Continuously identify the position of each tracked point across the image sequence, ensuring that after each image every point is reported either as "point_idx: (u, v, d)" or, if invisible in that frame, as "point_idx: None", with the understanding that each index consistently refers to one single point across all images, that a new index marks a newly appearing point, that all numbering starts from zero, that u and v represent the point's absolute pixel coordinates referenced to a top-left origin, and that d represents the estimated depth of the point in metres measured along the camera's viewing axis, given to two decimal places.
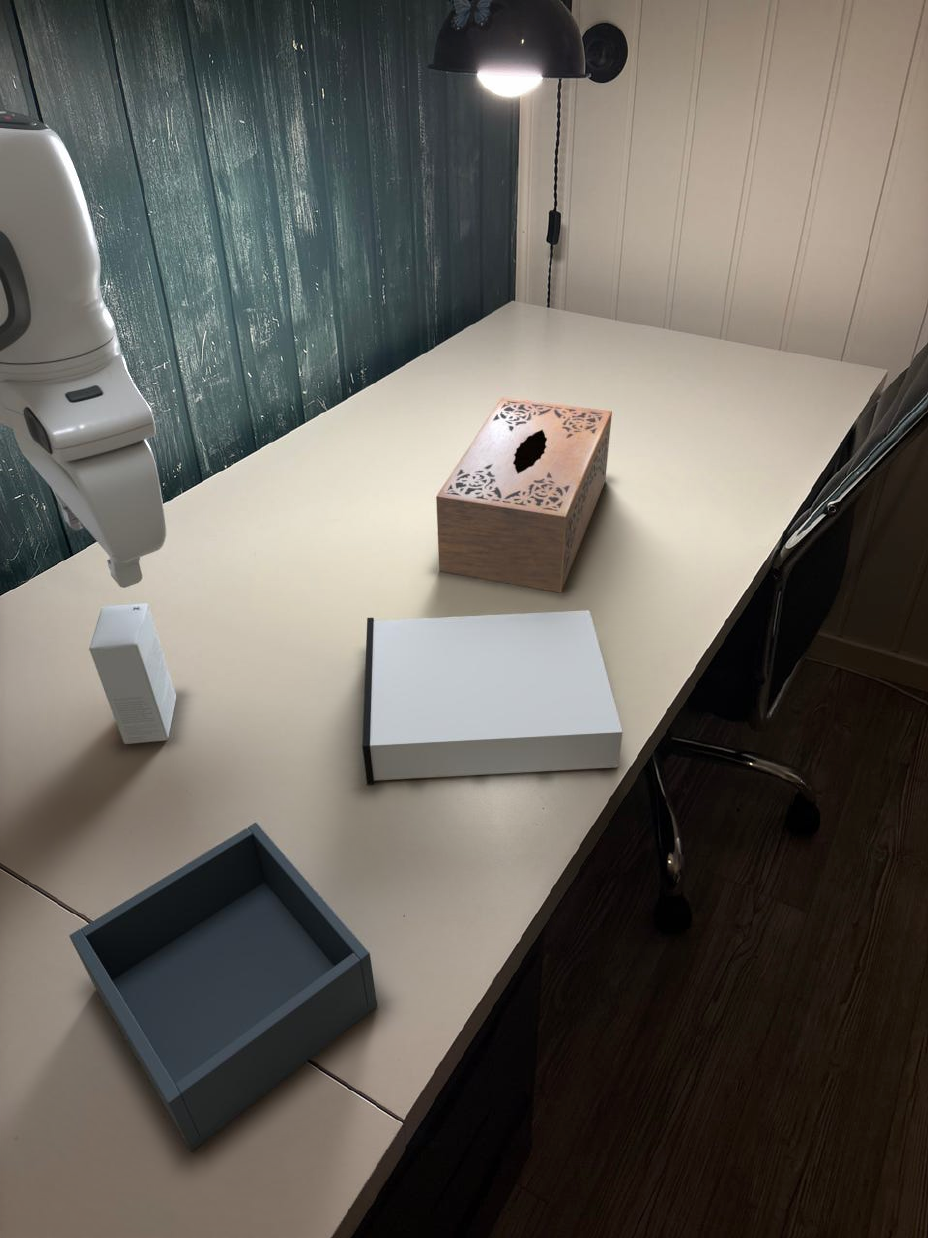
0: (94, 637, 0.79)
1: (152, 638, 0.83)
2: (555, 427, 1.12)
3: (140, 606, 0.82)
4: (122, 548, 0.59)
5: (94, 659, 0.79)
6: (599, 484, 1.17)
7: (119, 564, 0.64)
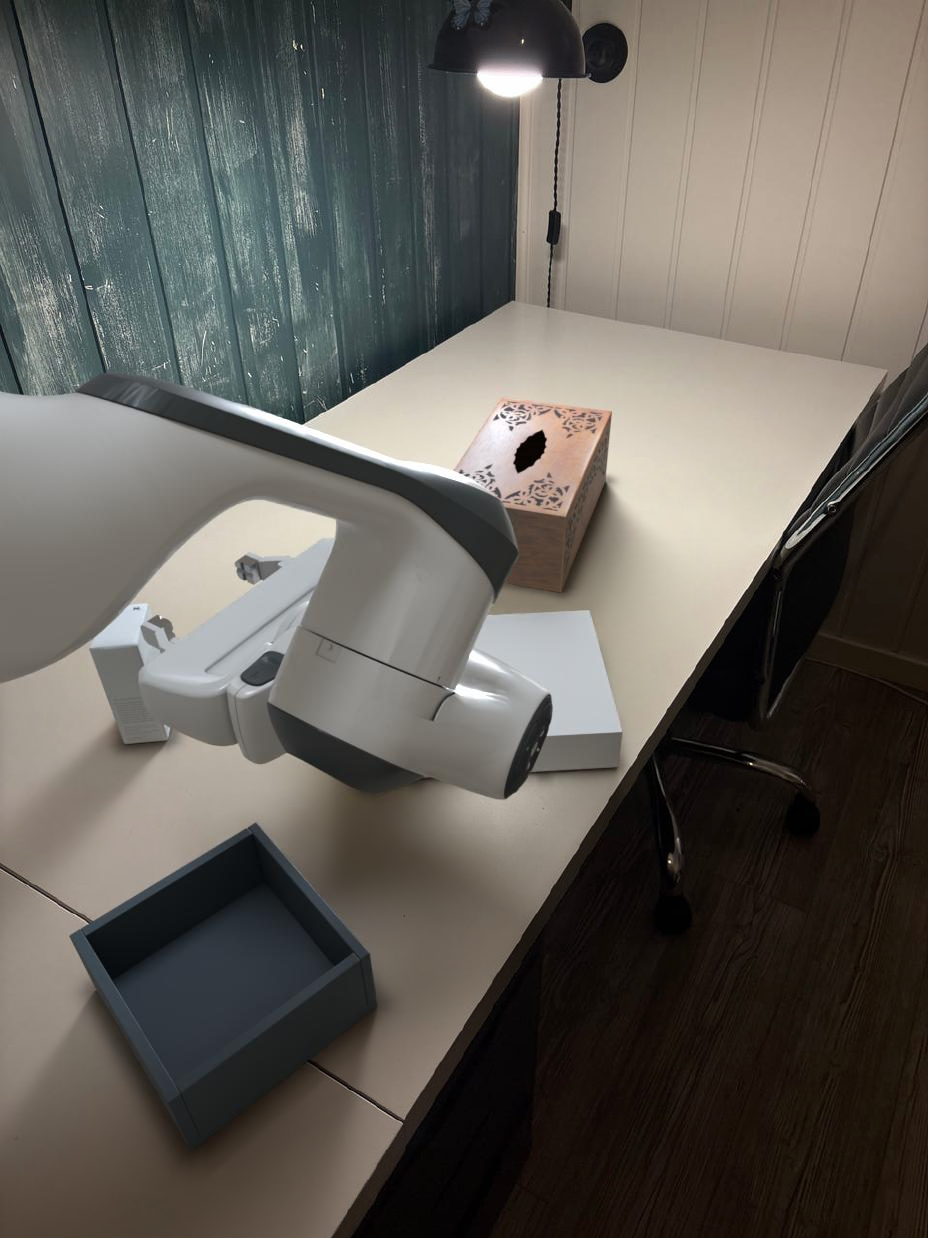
0: (94, 637, 0.79)
1: None
2: (555, 427, 1.12)
3: (140, 606, 0.82)
4: (145, 688, 0.60)
5: (94, 659, 0.79)
6: (599, 484, 1.17)
7: (157, 641, 0.65)
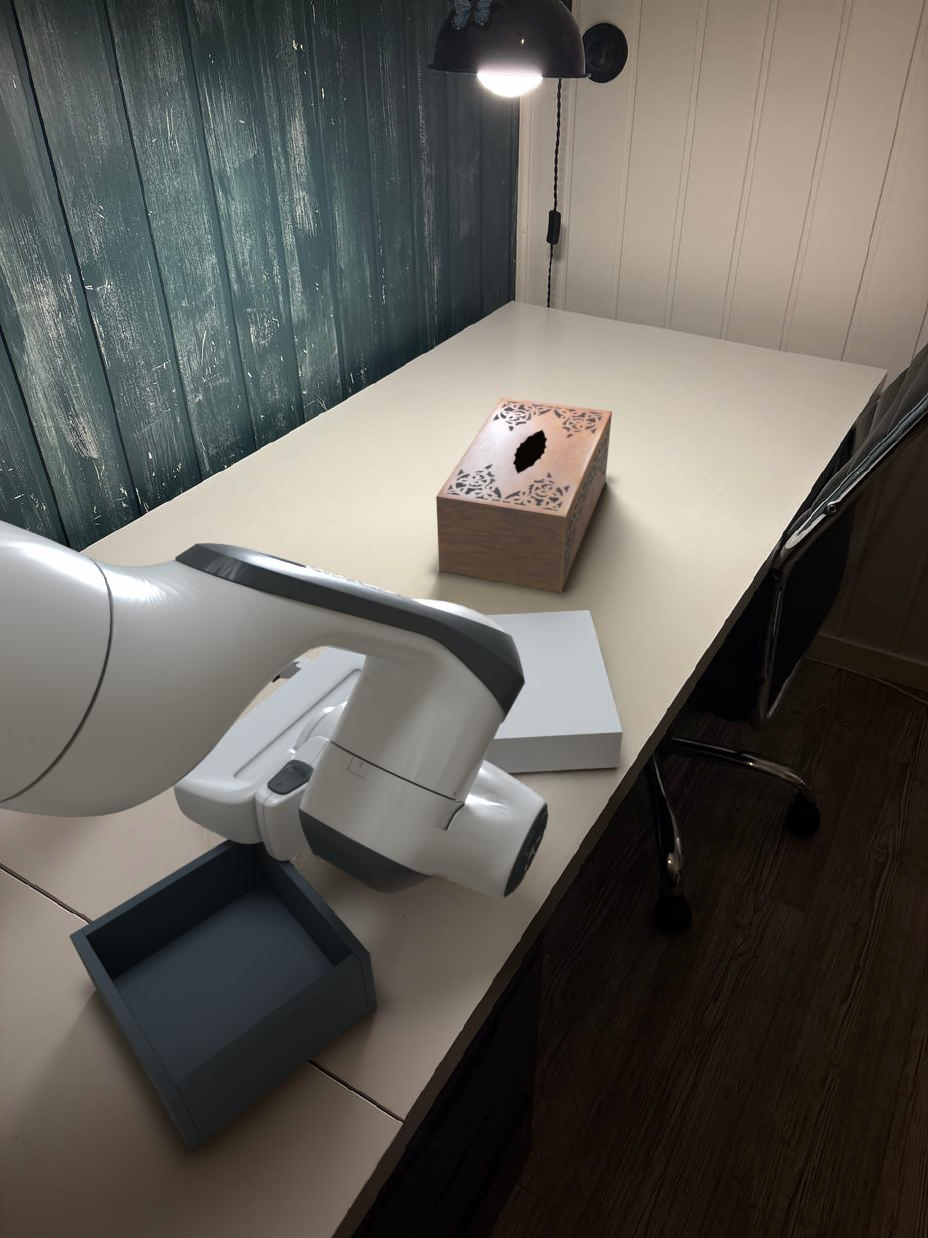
0: None
1: None
2: (555, 427, 1.12)
3: None
4: (180, 792, 0.66)
5: None
6: (599, 484, 1.17)
7: None
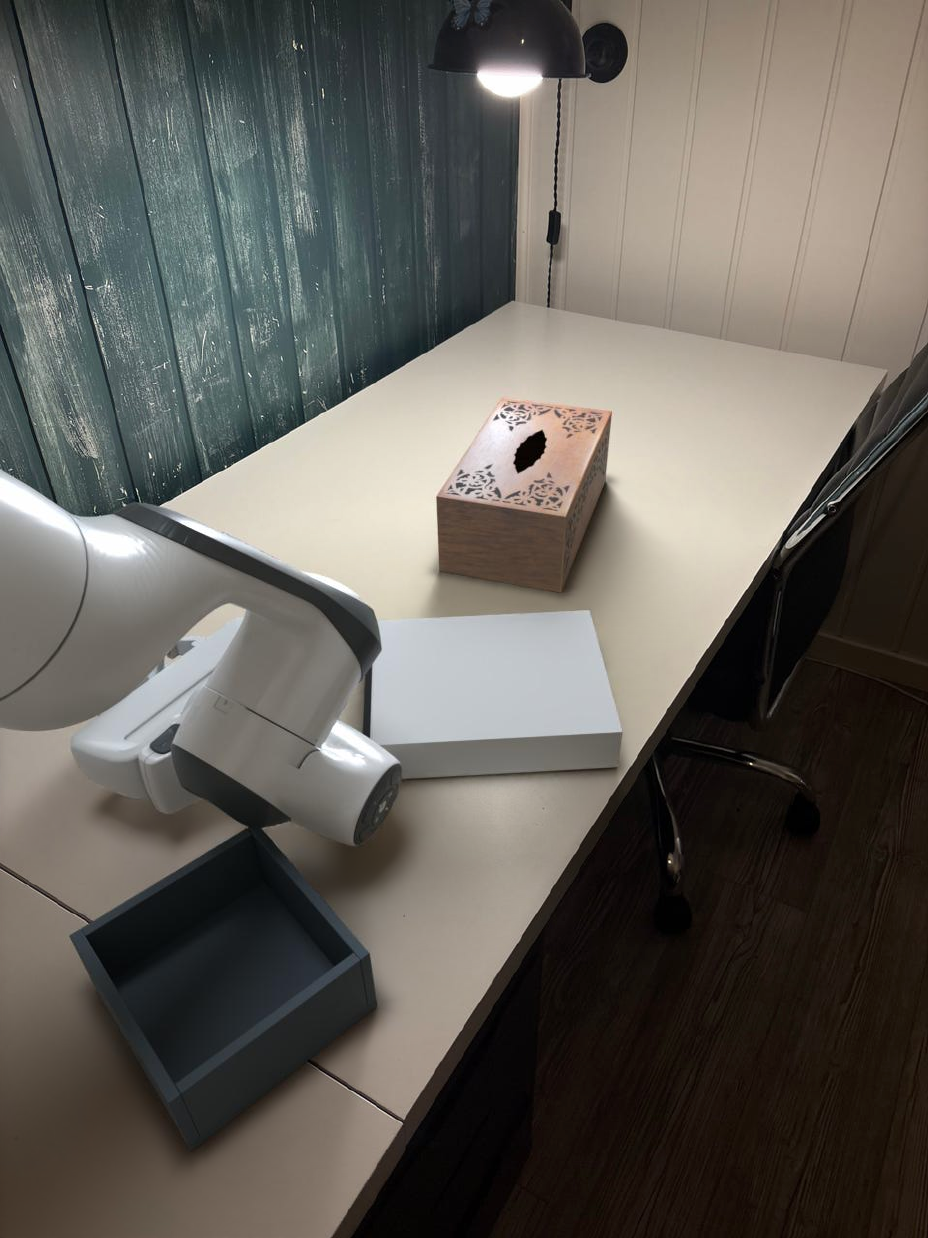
0: None
1: None
2: (555, 427, 1.12)
3: None
4: (75, 752, 0.74)
5: None
6: (599, 484, 1.17)
7: None
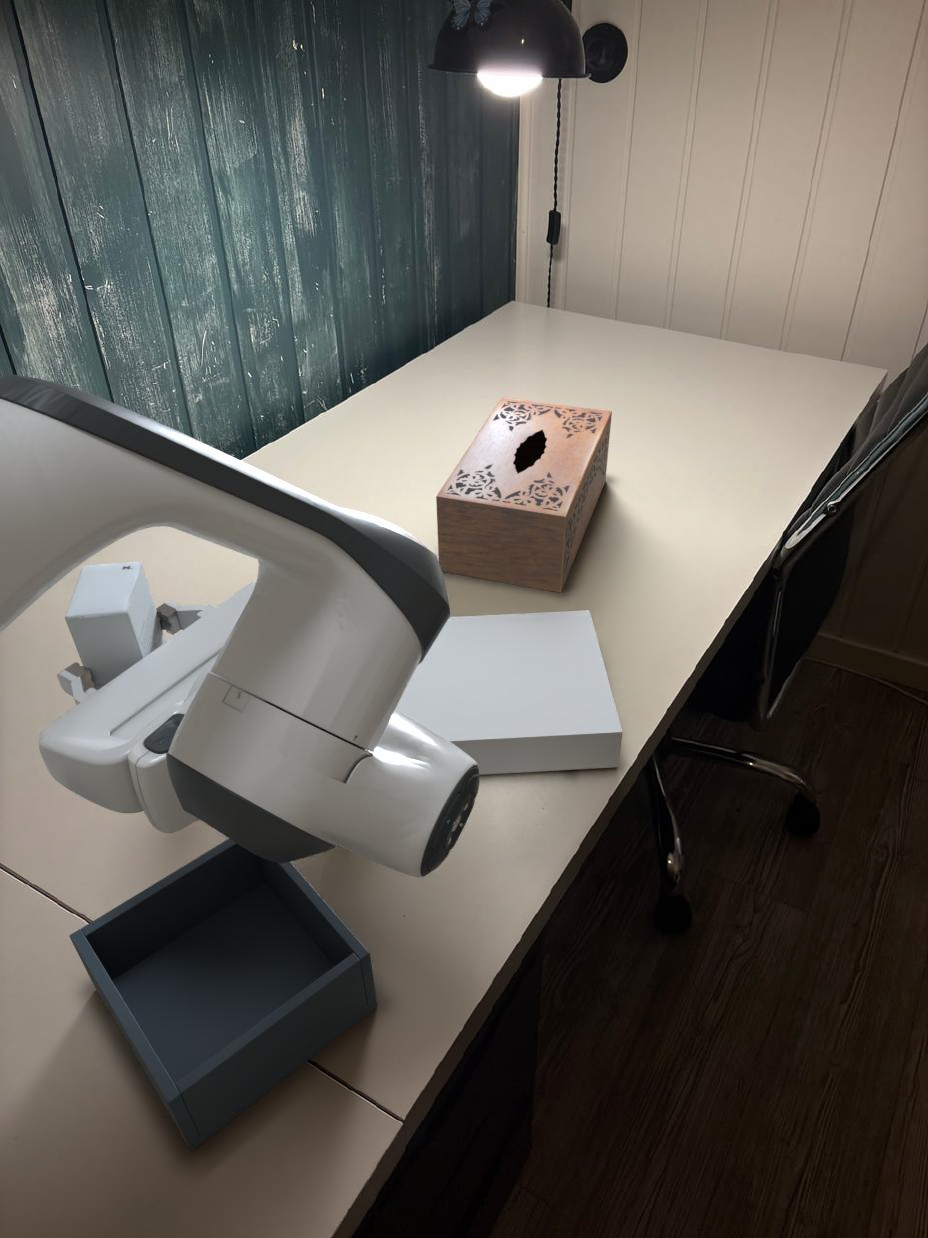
0: (71, 603, 0.61)
1: (148, 606, 0.65)
2: (555, 427, 1.12)
3: (131, 564, 0.64)
4: (45, 752, 0.56)
5: (71, 631, 0.60)
6: (599, 484, 1.17)
7: None
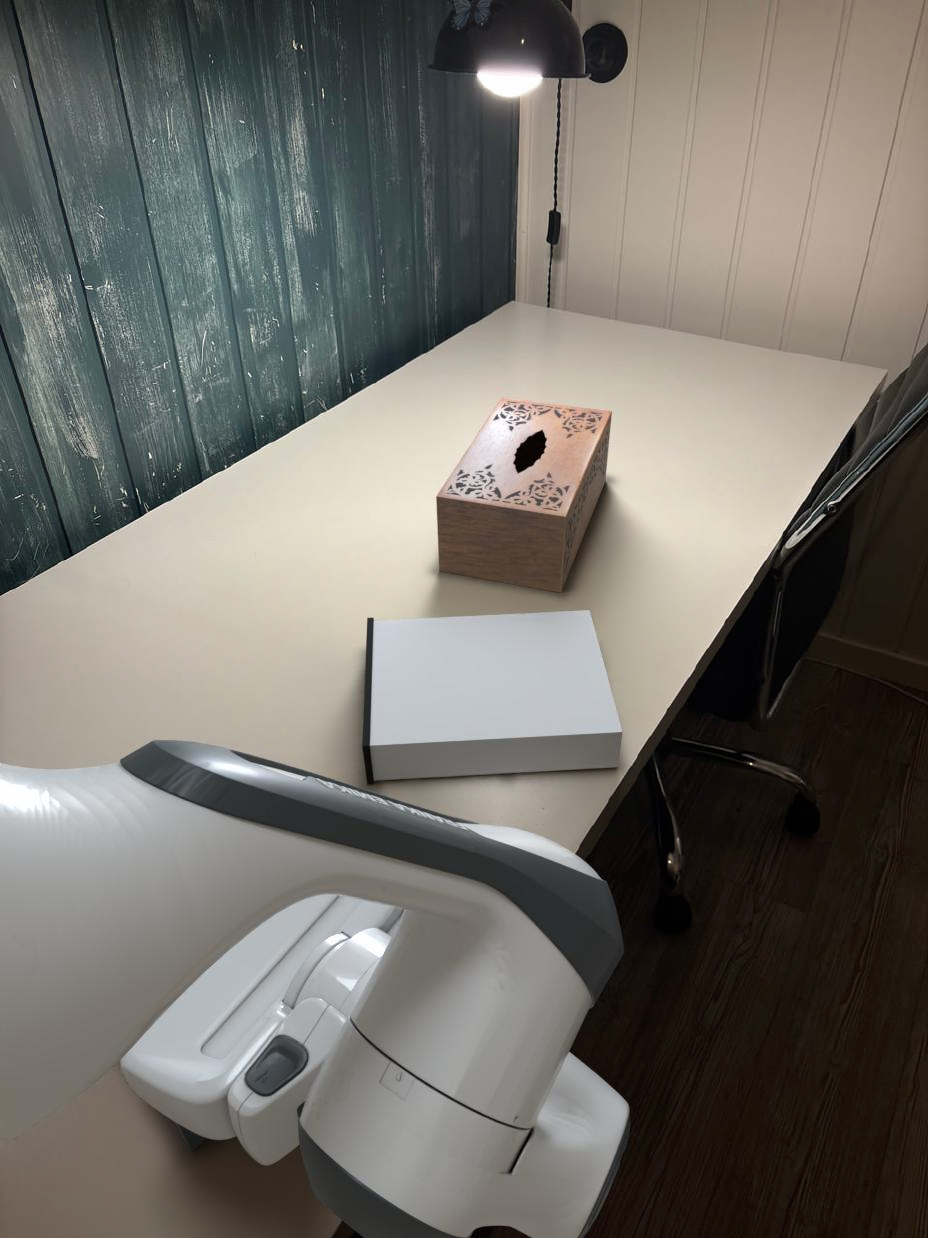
0: None
1: None
2: (555, 427, 1.12)
3: None
4: (128, 1074, 0.49)
5: None
6: (599, 484, 1.17)
7: None
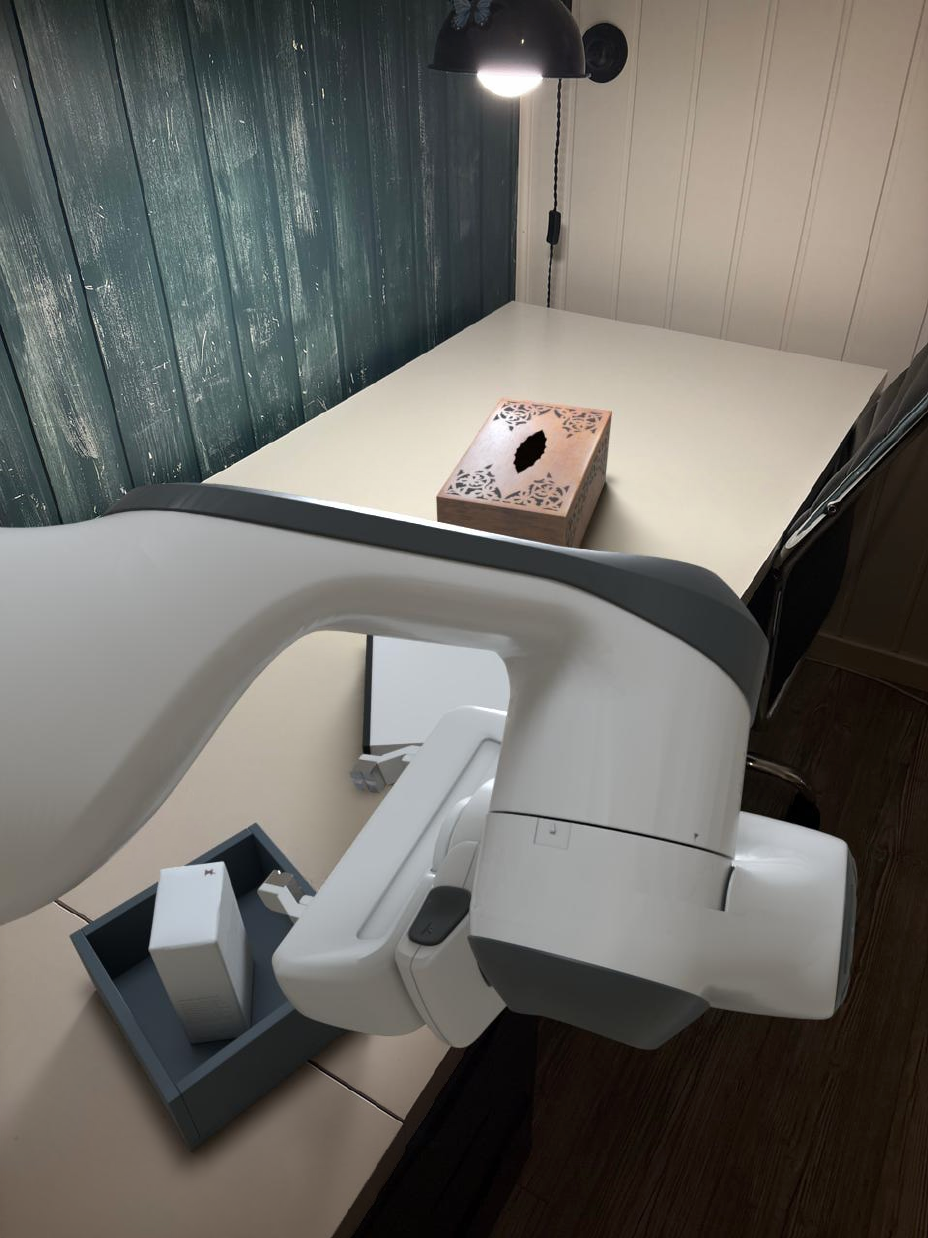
0: (154, 928, 0.56)
1: (230, 907, 0.60)
2: (555, 427, 1.12)
3: (213, 867, 0.59)
4: (286, 983, 0.44)
5: (155, 960, 0.55)
6: (599, 484, 1.17)
7: None
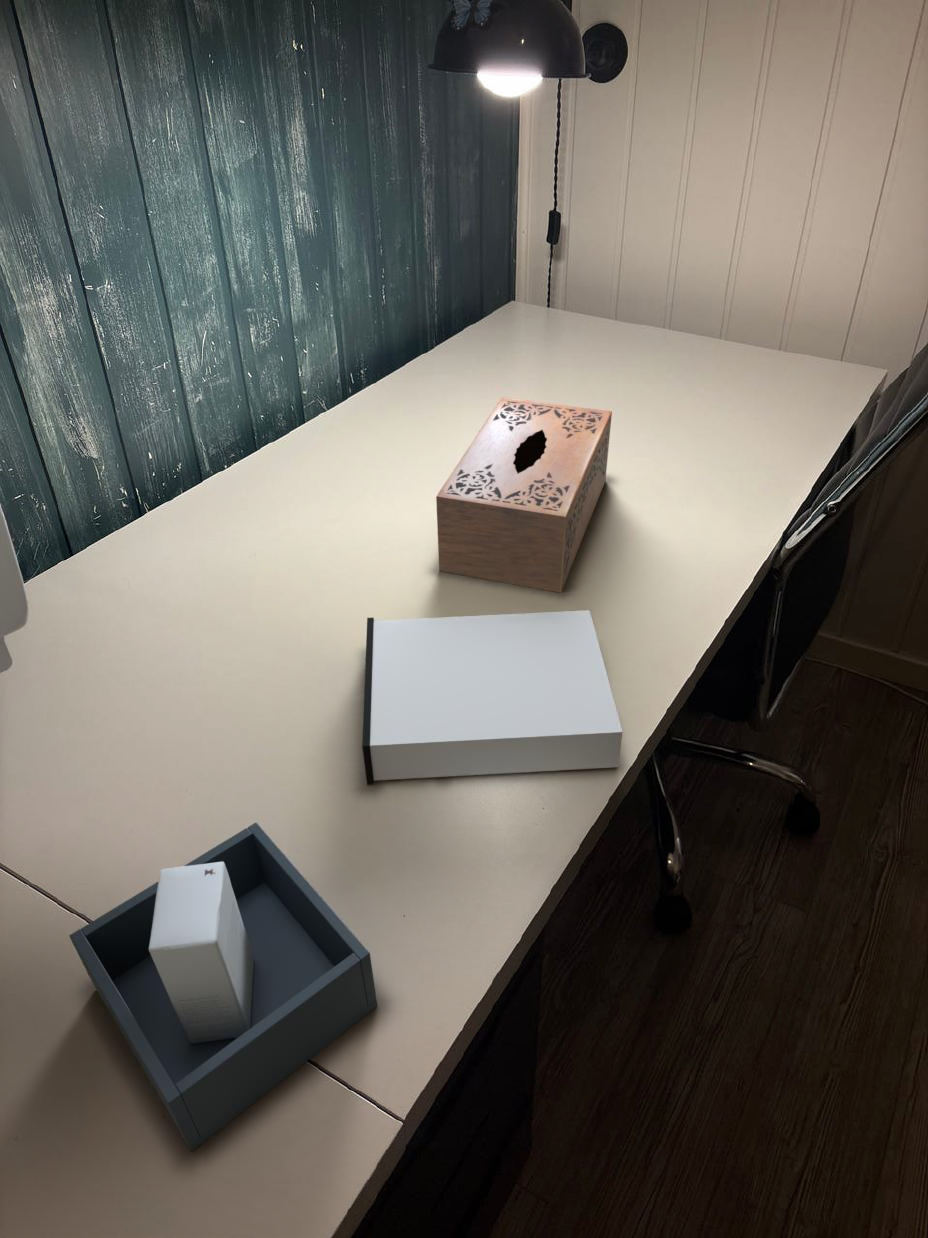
0: (154, 928, 0.56)
1: (230, 907, 0.60)
2: (555, 427, 1.12)
3: (213, 867, 0.59)
4: None
5: (155, 960, 0.55)
6: (599, 484, 1.17)
7: None
